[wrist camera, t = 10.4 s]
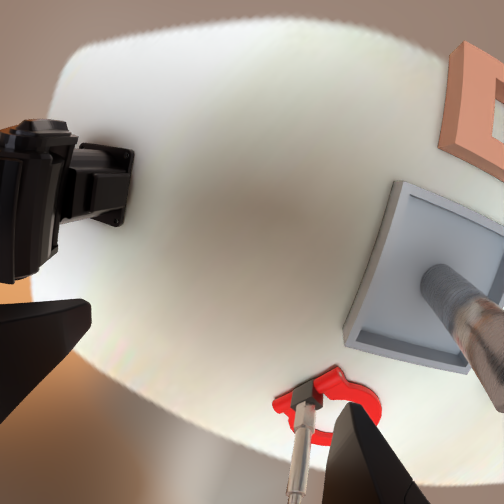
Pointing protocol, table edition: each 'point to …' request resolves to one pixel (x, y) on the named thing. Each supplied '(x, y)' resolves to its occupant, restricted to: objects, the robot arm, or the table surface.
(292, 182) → the table surface
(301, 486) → the tow hook
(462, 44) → the block
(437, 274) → the pin
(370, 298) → the tray
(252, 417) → the table surface
